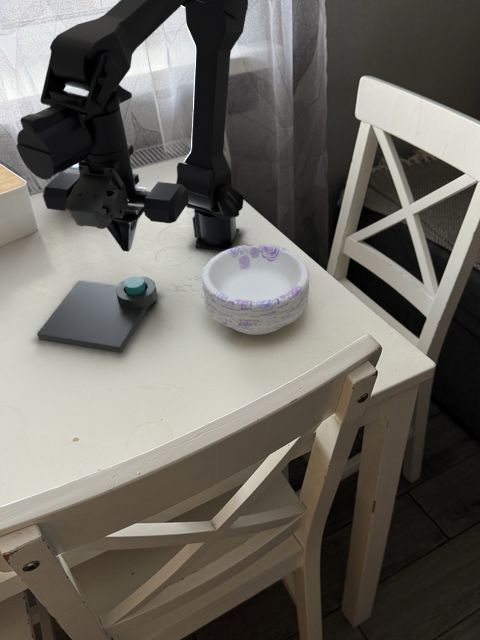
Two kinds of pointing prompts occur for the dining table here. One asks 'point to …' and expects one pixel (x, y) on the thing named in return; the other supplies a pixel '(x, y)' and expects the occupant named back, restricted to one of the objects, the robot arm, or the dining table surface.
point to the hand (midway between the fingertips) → (127, 249)
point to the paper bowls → (256, 288)
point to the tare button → (135, 285)
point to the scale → (98, 316)
